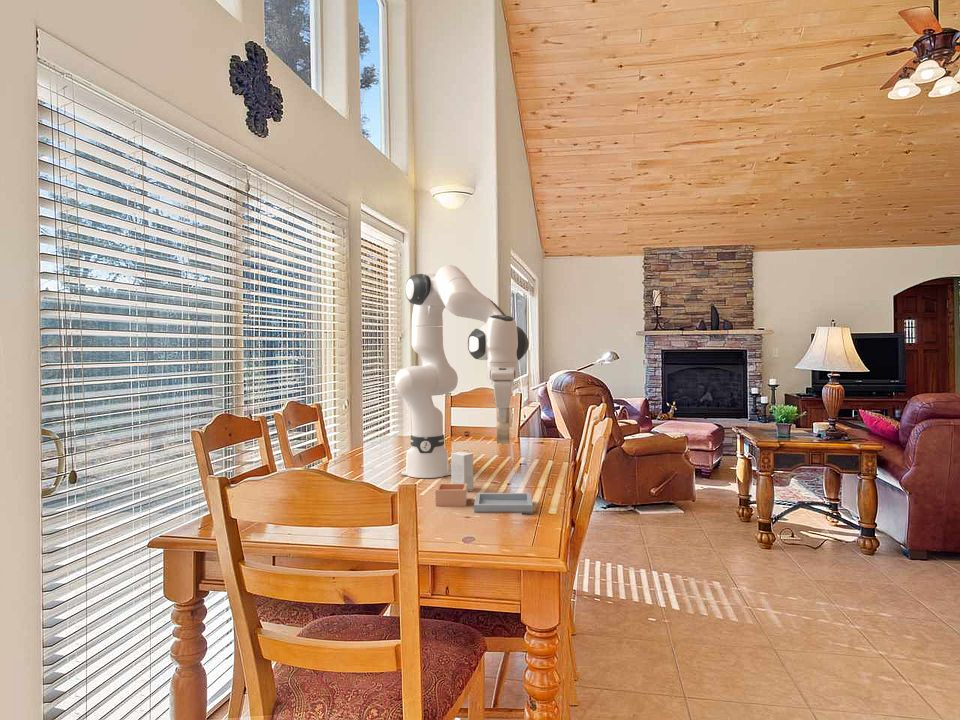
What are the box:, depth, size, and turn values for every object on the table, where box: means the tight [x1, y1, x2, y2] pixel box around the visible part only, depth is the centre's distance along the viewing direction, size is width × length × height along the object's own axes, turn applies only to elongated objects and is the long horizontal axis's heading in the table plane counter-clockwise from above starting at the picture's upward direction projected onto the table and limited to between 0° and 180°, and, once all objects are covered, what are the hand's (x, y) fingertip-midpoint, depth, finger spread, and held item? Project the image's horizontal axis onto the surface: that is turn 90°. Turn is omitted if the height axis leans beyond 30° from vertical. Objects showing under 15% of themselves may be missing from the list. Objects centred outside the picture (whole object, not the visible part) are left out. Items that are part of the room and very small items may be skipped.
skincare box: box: [450, 451, 474, 493], centre depth 199 cm, size 6×4×12 cm
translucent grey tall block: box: [495, 406, 510, 445], centre depth 178 cm, size 4×4×12 cm
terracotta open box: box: [435, 483, 469, 507], centre depth 184 cm, size 9×9×5 cm
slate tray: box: [473, 492, 534, 515], centre depth 179 cm, size 14×16×2 cm
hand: (502, 421), depth 178 cm, fingers closed on translucent grey tall block, 4 cm apart
